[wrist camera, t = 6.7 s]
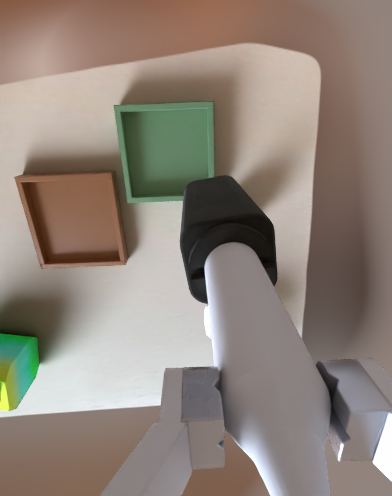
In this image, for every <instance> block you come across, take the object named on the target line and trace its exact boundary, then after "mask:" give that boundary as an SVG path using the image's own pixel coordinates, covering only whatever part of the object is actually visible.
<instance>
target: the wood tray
mask: <svg viewBox="0 0 392 496" xmlns="http://www.w3.org/2000/svg"><path fill="white" fill-rule="evenodd" d="M15 181H16V184H17V187H18V191H19V194H20V198H21V201H22V204H23V208H24V211H25V215H26V218H27V221H28V225H29V228H30V232H31V235H32V238H33V242H34V245H35V249H36V252H37V255H38V259H39V262H40V265H41V268H42V269H43V268H66V267H89V266H112V265H126V263H127V261H128V256H127V249H126V243H125V236H124V230H123V223H122V216H121V210H120V203H119V197H118V190H117V183H116V177H115V171H100V172H76V173H52V174H29V175H20V176H16V177H15Z"/></svg>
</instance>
